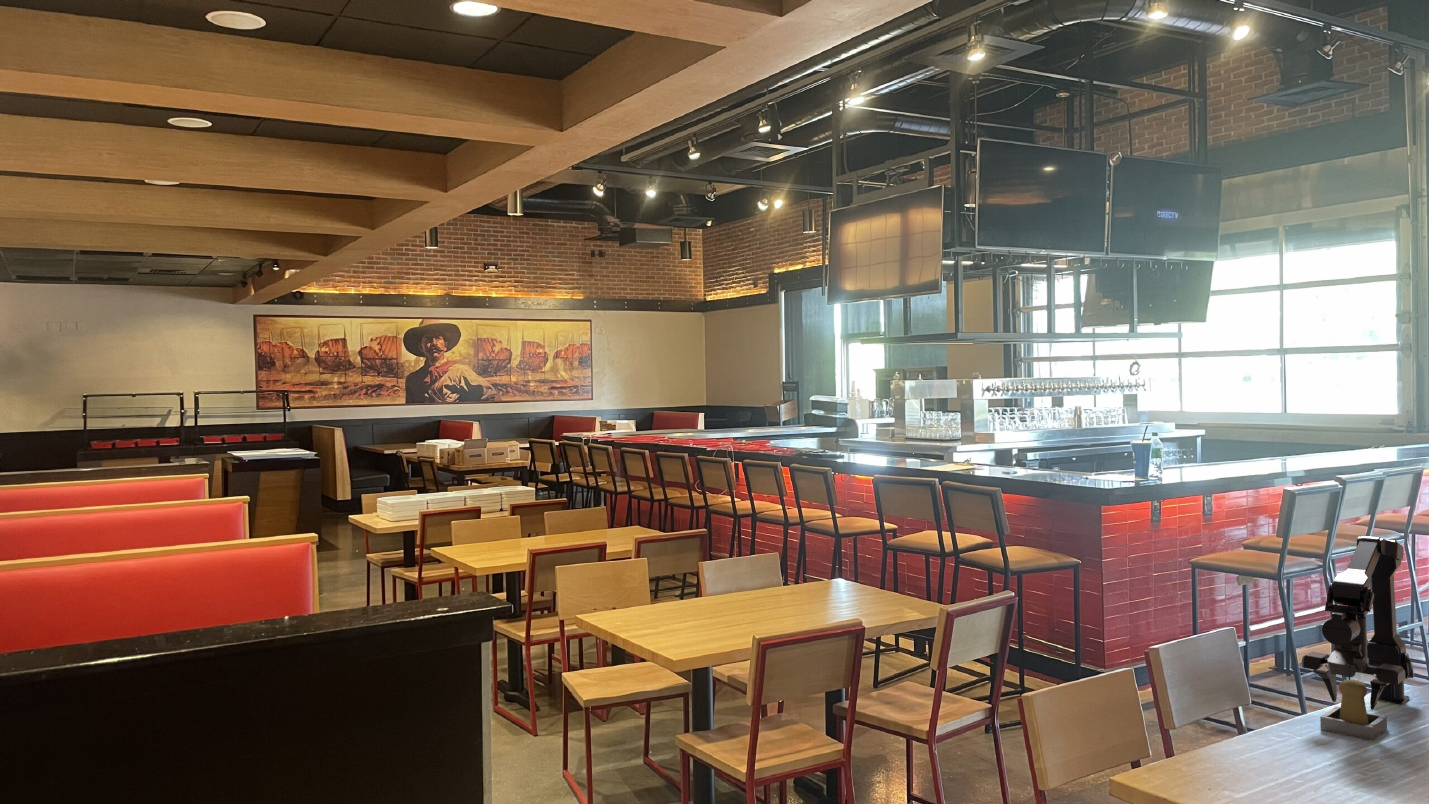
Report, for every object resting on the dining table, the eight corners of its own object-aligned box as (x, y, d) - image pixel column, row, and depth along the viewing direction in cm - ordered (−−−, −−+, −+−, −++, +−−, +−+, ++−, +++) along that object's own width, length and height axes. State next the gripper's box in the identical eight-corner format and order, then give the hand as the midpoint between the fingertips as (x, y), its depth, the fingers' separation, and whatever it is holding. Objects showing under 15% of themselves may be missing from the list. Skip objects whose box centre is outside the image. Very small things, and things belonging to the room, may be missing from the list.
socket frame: (1336, 719, 224) (1336, 706, 224) (1387, 729, 216) (1386, 716, 216) (1320, 729, 218) (1320, 716, 218) (1372, 741, 210) (1371, 727, 210)
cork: (1331, 728, 218) (1330, 679, 218) (1348, 723, 221) (1347, 675, 221) (1359, 736, 213) (1358, 686, 213) (1376, 731, 216) (1375, 682, 215)
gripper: (1291, 635, 219) (1293, 704, 219) (1388, 651, 204) (1390, 724, 205) (1310, 626, 226) (1312, 693, 226) (1405, 640, 211) (1407, 712, 212)
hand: (1353, 705), depth 217 cm, fingers open, 7 cm apart
